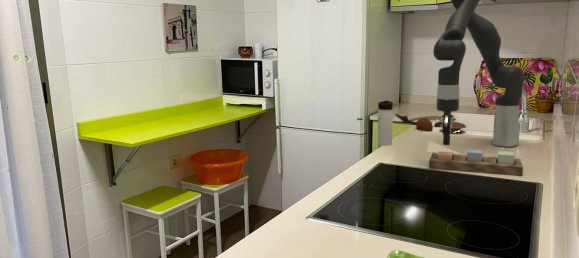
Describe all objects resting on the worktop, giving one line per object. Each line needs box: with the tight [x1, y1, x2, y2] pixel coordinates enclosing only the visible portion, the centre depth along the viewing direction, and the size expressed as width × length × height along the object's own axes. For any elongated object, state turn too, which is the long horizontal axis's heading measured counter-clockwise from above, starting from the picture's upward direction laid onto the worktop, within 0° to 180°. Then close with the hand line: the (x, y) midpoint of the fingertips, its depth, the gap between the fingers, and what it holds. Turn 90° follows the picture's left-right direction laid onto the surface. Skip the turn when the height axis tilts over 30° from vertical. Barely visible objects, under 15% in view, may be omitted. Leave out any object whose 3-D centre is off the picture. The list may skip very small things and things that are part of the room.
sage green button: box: [497, 150, 516, 164], centre depth 157 cm, size 5×5×3 cm
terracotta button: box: [437, 150, 454, 160], centre depth 165 cm, size 5×5×3 cm
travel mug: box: [377, 100, 394, 147], centre depth 197 cm, size 6×7×20 cm
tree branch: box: [394, 113, 457, 127], centre depth 244 cm, size 22×30×8 cm
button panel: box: [428, 152, 524, 177], centre depth 161 cm, size 30×12×3 cm, turn 67°
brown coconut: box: [439, 121, 467, 134], centre depth 220 cm, size 12×12×6 cm
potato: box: [415, 118, 434, 132], centre depth 227 cm, size 8×12×8 cm
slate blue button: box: [466, 149, 484, 162], centre depth 161 cm, size 5×5×3 cm
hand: (446, 144), depth 164 cm, fingers closed
